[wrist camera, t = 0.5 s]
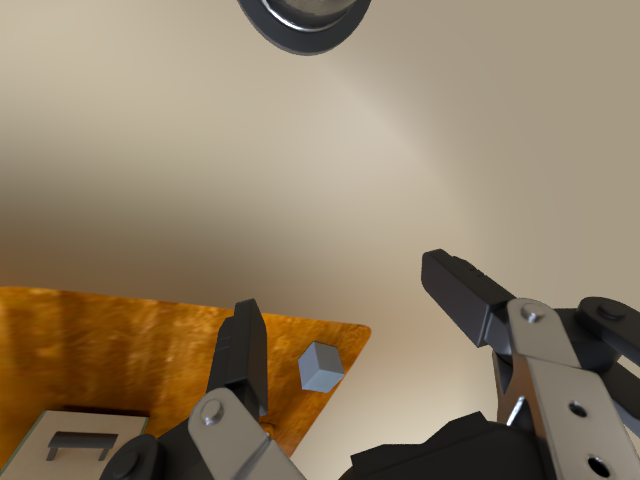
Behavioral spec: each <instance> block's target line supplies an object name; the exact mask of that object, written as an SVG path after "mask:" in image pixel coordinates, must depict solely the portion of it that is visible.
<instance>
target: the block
mask: <svg viewBox="0 0 640 480" xmlns="http://www.w3.org/2000/svg"><path fill="white" fill-rule="evenodd" d="M298 362H299V369H300V376H301V383H302V389H306V390H313V391H319V392H326V393H328V392H329V391H330V390H331V389H332V388H333V387H334V386H335V385H336V384H337V383H338V382H339V380H340V379H341V378H342V377H343V376H344V375H345V373H344V370H343V366H342V363H341V360H340V357H339V353H338V350H337V347H333V346H329V345H325V344H321V343H318V342H313V343H312V344H311V345H310V346H309V347H308V349H307V350H306V351H305V352H304V354H303V355H302V356H301V357H300V358H299V360H298Z"/></svg>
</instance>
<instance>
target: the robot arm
mask: <svg viewBox="0 0 640 480" xmlns="http://www.w3.org/2000/svg"><path fill="white" fill-rule="evenodd" d="M356 1H357V0H259V2H260V3H261V5H262V6H263V7H264V9H265V10H266V11H267V12H268V13H269V14H270V15H271V16H272V17H273V18H274V19H275V20H276V21H277V22H278V23H280V24H281V25H283V26H284V27H286V28H288V29H290V30H292V31H295V32H298V33H304V34H315V33H320V32H323V31H326V30H328V29H330V28H332V27H333V26H334V25H336V24H337V23H338V22H339V21H341V19H342V18H343V17H344V16H345V15H346V14H347V13H348V12H349V10H350V9H351V8H352V7H353V5H354V3H355V2H356ZM421 281H422V285H423V287H424V289H425V290H426V291H427V292H428V293H429V295H430V296H431V297H432V298H433V299H434V300H435V301H436V302H437V303H438V305H439V306H440V307H441V308H442V309H443V310H444V311H445V312H446V313H447V315H448V316H449V317H450V318H451V319H452V320H453V321H454V322H455V323H456V324H457V326H458V327H459V328H460V329H461V330H462V331H463V332H464V333H465V334H466V336H467V337H468V338H469V339H470V340H471V341H472V342H473V343H474V344H475V345H476V346H477V348H479V347H482V346H486V345H490V346H491V347H492V348H493V351H492V358H493V365H494V372H495V380H496V388H497V395H498V411H497V422H493V421H487V420H486V419H485V417H484V416H483V415H482V413H481V412H480V411H478V412H475V413H472V414H470V415H466V416H464V417H461V418H458V419H455V420H452V421H449V422H448V423H447V424H446V425H445V426H443V427H442V428H441V429H440V430H439V431H437V432H436V433H435V434H434V435H433V436H432V437H430V438H429V439H428V440H427V441H426V442H424V443H422V444H383V445H380V446H377V447H375V448H372V449H369V450H366V451H363V452H360V453H357V454H354V455H351V456H350V457H351V461H352V465H353V466H352V467H351V468H349V469H348V470H347V471H346V472H345V473H344V474H343V475H342V476H341V477H340V478H339V479H338V480H640V458H639V456H638V454H637V452H636V449H635V447H634V446H633V443H632V441H631V439H630V437H629V435H628V433H627V431H626V429H625V427H624V425H623V424H625V425H626V426H627V427H628V428H629V429H630V430H631V431H632V432H633V433H634V434H636V435H637V436H638V437H639V438H640V379H639V378H637V377H636V376H635V375H634V374H632V373H631V372H630V371H628V370H627V369H626V368H624V367H623V366H622V365H620V364H619V363H618V362H617V361H618V359H619V358H620V357H621V355H624V356H625V357H627V358H628V359H629V360H631V361H632V362H634V363H635V364H636V365H638V366H639V367H640V312H638V311H636V310H635V309H633V308H631V307H629V306H627V305H625V304H623V303H621V302H618V301H615V300H611V299H608V298H603V297H587V298H584V299H583V300H581V302H580V304H579V306H578V308H573V309H568V308H566V309H552V308H551V307H549V306H547V305H546V304H544V303H542V302H539V301H537V300H533V299H528V298H516V297H515V296H514V295H512V294H511V293H509V292H508V291H507V290H505V289H504V288H503V287H501V286H500V285H499V284H497V283H496V282H495V281H493V280H492V279H491V278H489V277H488V276H487V275H484V273H482V272H481V271H480V270H477V269H476V268H475V267H474V266H473V265H471V264H470V263H469V262H467V261H466V260H463V259H460V258H458V257H456V256H453V257H452V256H450V255H449V254H448V253H446V252H445V251H444V250H442V249H437V250H433V251H429V252H425V253H424V254H423V257H422V271H421ZM266 414H268V389H267V332H266V326H265V323H264V320H263V318H262V315H261V313H260V310H259V308H258V306H257V303H256V301H255V299H254V298H253V299H249V300H245V301H242V302H238V303H236V305H235V311H234V316H232V317H228V318H226V319H225V321H224V322H223V324H222V326H221V327H220V329H219V333H218V337H217V343H216V347H215V352H214V357H213V362H212V367H211V371H210V376H209V381H208V386H207V390H206V394H205V395H204V396H203V397H202V398H201V399H200V400H199V401H198V403H197V404H196V405H195V407H194V408H193V410H192V412H191V414H190V417H189V418H187V419H186V420H185V421H183V422H182V423H180V424H179V425H177V426H176V427H174V428H173V429H171V430H170V431H168V432H166V433H165V434H163V435H162V436H160V437H159V438H157V439H156V438H155V437H154V436H152V435H150V434H143V435H139V436H137V437H135V438H133V439H131V440H130V441H128V442H127V443H126V444H124V445H123V446H122V447H121V448H120V449H119V450H118V451H117V452H116V453H115V454H114V455H113V457H112V458H111V459H110V461H109V462H108V463H107V465H106V467H105V468H104V470H103V472H102V474H101V476H100V479H99V480H307V479H306V478H305V477H304V476H303V474H302V473H301V472H300V471H299V470H298V469H297V467H296V466H295V465H294V464H293V462H292V461H291V460H290V459H289V458H288V456H287V455H286V454H285V453H284V452H283V450H282V449H281V448H280V447H279V446H278V444H277V443H276V442H275V441H274V440H273V439H272V438H271V437H269V436H268V435H267V433H266V432H265V431H264V430H263V429H262V427H261V426H260V425H259V416H262V415H266Z"/></svg>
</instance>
